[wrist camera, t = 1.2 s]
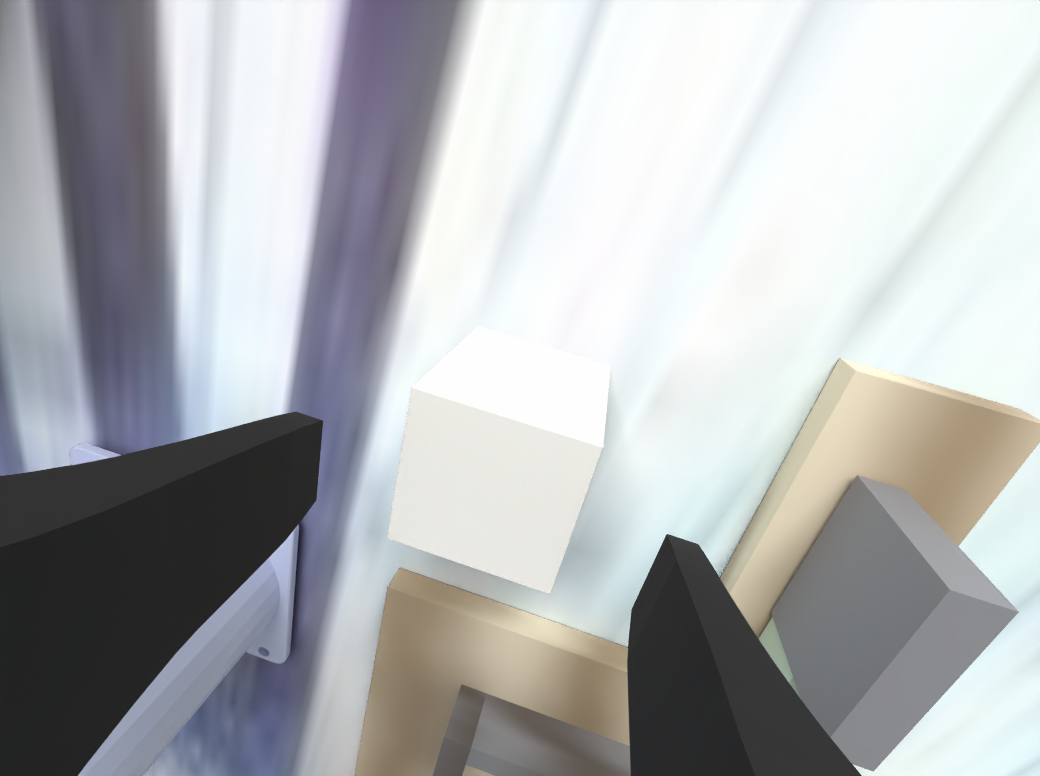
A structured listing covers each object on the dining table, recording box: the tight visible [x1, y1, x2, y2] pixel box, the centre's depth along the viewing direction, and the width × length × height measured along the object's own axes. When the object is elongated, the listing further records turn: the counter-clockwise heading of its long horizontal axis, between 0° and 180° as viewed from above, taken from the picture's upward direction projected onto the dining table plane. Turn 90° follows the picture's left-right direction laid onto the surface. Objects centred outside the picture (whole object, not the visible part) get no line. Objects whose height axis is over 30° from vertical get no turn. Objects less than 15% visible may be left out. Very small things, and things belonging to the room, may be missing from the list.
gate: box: [759, 475, 1018, 771], centre depth 14 cm, size 1×14×4 cm, turn 165°
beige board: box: [355, 358, 1040, 776], centre depth 18 cm, size 15×30×3 cm, turn 166°
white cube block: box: [387, 326, 611, 594], centre depth 13 cm, size 4×4×5 cm
